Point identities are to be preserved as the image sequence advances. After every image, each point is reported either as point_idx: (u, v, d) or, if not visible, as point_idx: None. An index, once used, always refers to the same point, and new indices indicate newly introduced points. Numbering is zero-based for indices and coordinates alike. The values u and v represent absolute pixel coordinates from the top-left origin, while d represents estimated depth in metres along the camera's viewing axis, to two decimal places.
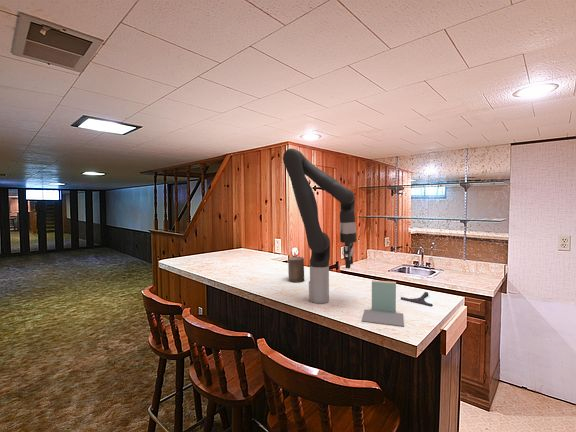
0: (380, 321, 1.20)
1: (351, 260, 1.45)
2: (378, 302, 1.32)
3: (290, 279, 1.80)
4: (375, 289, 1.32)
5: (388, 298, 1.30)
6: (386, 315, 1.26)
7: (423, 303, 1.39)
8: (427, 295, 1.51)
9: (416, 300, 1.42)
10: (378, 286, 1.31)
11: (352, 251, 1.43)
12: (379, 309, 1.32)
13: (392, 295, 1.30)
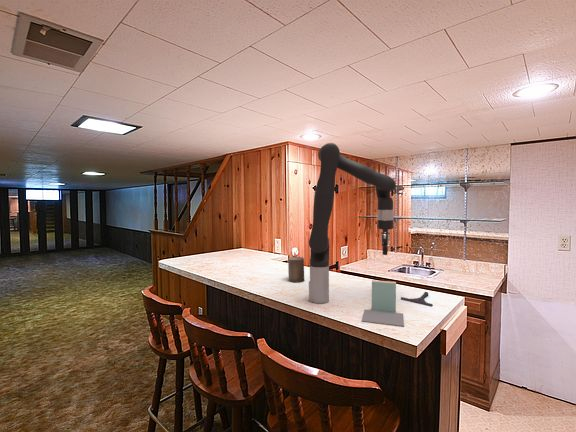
0: (380, 321, 1.20)
1: (386, 249, 1.49)
2: (378, 302, 1.32)
3: (290, 279, 1.80)
4: (375, 289, 1.32)
5: (388, 298, 1.30)
6: (386, 315, 1.26)
7: (423, 303, 1.39)
8: (427, 295, 1.52)
9: (416, 300, 1.42)
10: (378, 286, 1.31)
11: None
12: (379, 309, 1.32)
13: (392, 295, 1.30)
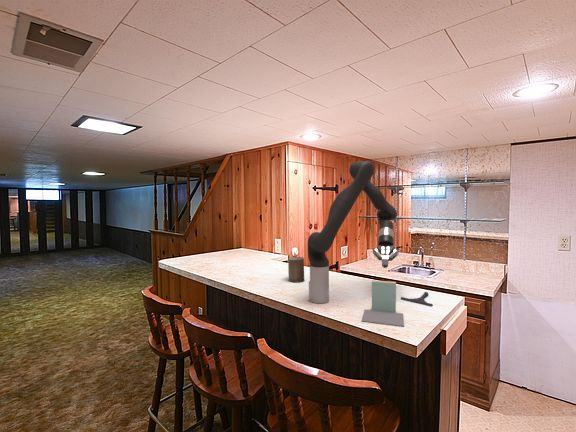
0: (380, 321, 1.20)
1: None
2: (378, 302, 1.32)
3: (290, 279, 1.80)
4: (375, 289, 1.32)
5: (388, 298, 1.30)
6: (386, 315, 1.26)
7: (423, 303, 1.39)
8: (427, 295, 1.52)
9: (416, 300, 1.42)
10: (378, 286, 1.31)
11: None
12: (379, 309, 1.32)
13: (392, 295, 1.30)
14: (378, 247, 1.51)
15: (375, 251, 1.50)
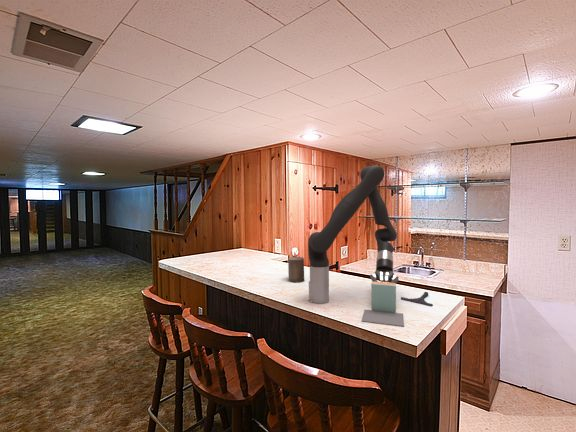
0: (380, 321, 1.20)
1: None
2: (378, 303, 1.31)
3: (290, 279, 1.80)
4: (375, 291, 1.30)
5: (388, 299, 1.29)
6: (386, 315, 1.26)
7: (423, 303, 1.39)
8: (427, 295, 1.52)
9: (416, 300, 1.42)
10: (378, 288, 1.29)
11: (383, 281, 1.38)
12: (379, 309, 1.32)
13: (392, 296, 1.28)
14: (376, 272, 1.39)
15: (373, 277, 1.38)
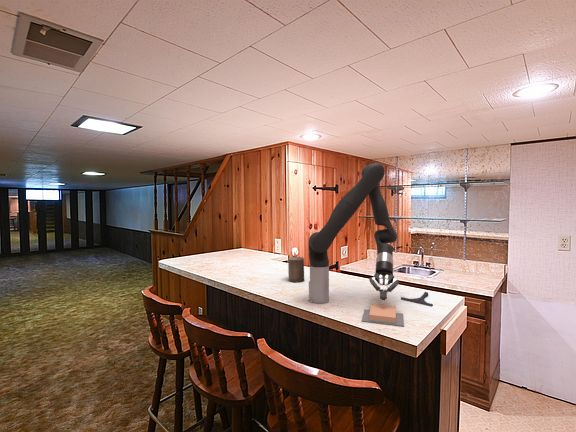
0: None
1: None
2: None
3: (290, 279, 1.80)
4: None
5: None
6: None
7: (423, 303, 1.39)
8: (427, 295, 1.52)
9: (416, 300, 1.42)
10: None
11: (382, 284, 1.33)
12: None
13: None
14: (375, 275, 1.34)
15: (372, 280, 1.32)
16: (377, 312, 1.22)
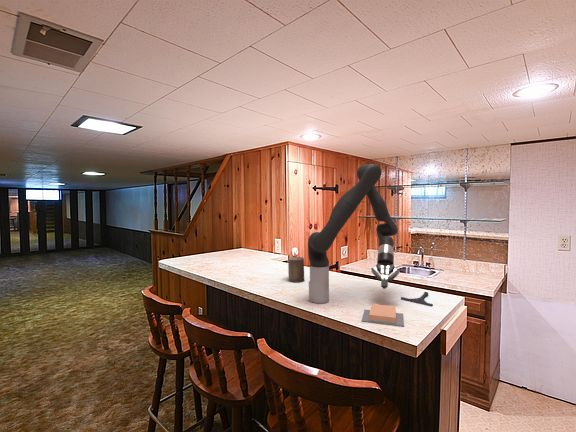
0: None
1: None
2: None
3: (290, 279, 1.80)
4: None
5: None
6: None
7: (423, 303, 1.39)
8: (427, 295, 1.52)
9: (416, 300, 1.42)
10: None
11: (383, 274, 1.42)
12: None
13: None
14: (377, 266, 1.43)
15: (374, 270, 1.42)
16: (377, 312, 1.22)
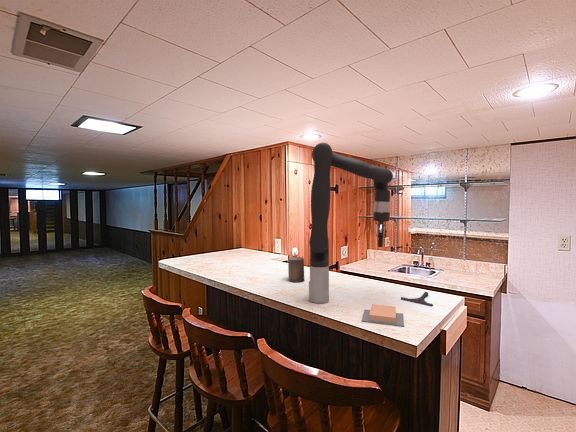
0: None
1: None
2: None
3: (290, 279, 1.80)
4: None
5: None
6: None
7: (423, 303, 1.39)
8: (427, 295, 1.52)
9: (416, 300, 1.42)
10: None
11: None
12: None
13: None
14: None
15: None
16: (377, 312, 1.22)
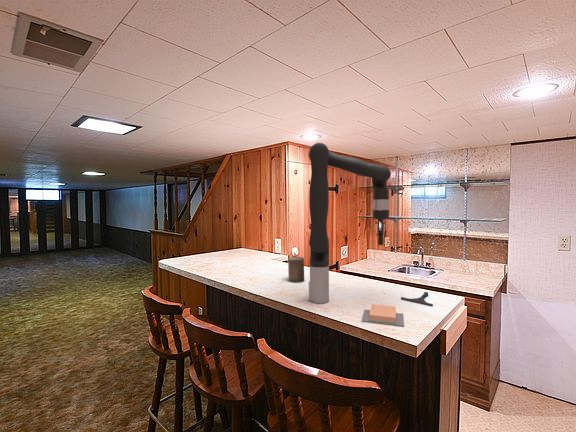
0: None
1: None
2: None
3: (290, 279, 1.80)
4: None
5: None
6: None
7: (423, 303, 1.39)
8: (427, 295, 1.52)
9: (416, 300, 1.42)
10: None
11: None
12: None
13: None
14: None
15: None
16: (377, 312, 1.22)
